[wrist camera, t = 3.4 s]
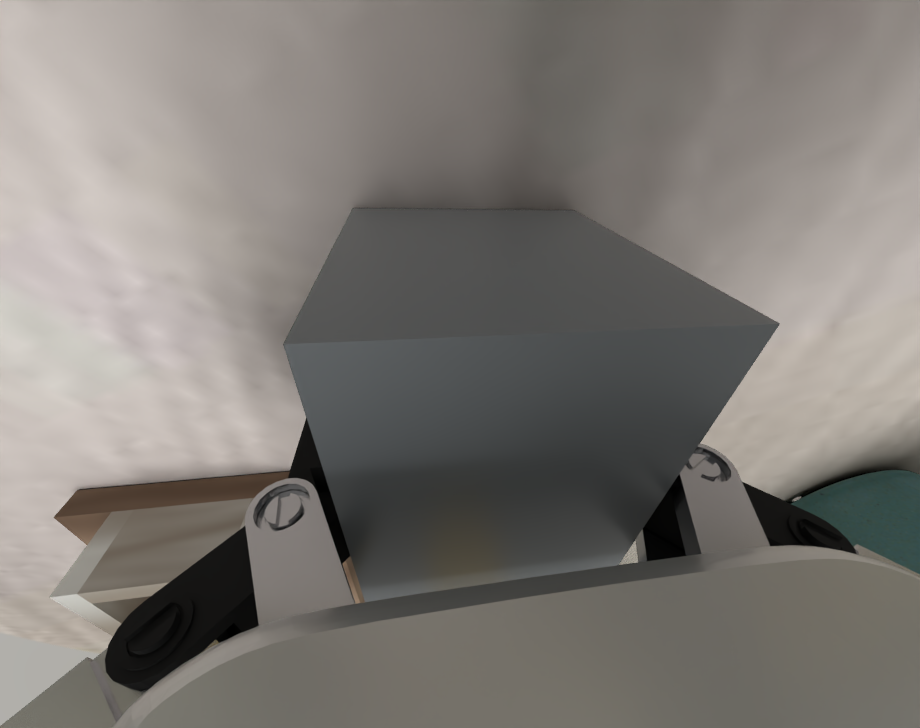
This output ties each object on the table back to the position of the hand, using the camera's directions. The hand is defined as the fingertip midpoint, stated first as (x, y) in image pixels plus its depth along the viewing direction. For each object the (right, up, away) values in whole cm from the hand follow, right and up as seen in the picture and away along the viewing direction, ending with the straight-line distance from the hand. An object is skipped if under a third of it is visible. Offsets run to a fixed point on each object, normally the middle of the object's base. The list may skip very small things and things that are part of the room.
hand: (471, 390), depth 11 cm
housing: (0, +1, +2) cm, 2 cm away
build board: (-12, -10, +8) cm, 17 cm away
